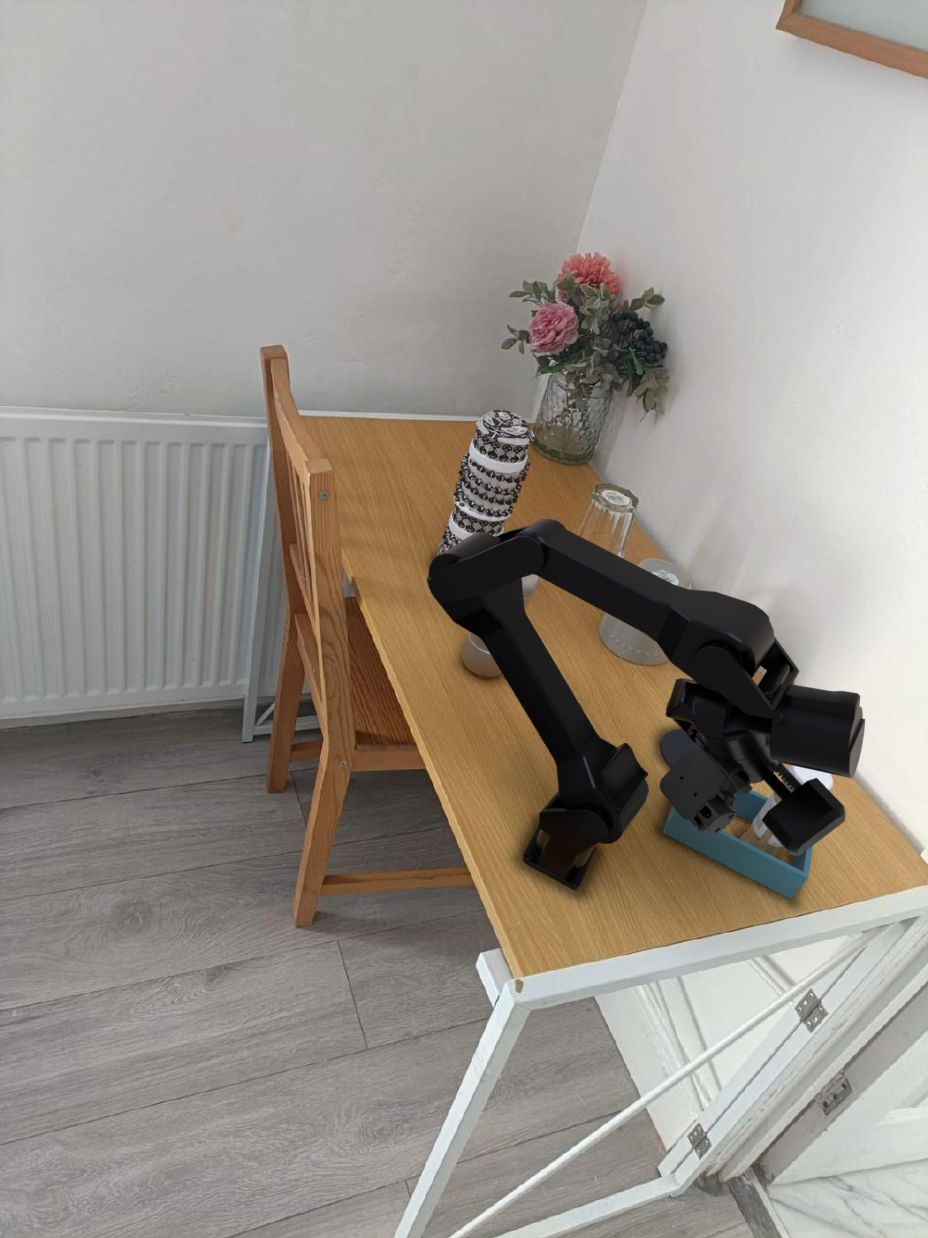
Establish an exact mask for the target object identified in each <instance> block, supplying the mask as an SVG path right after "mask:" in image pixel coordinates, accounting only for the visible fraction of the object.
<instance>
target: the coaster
mask: <svg viewBox="0 0 928 1238" xmlns="http://www.w3.org/2000/svg"><path fill="white" fill-rule="evenodd" d="M697 747H698V745H697V743H694V742H693V741H692V740H691V739H690V738H689V737H688V736H687V735H686V734H685V733H684V732H683V730H682V729H681V728H677V729H672V730H670V731H667V732H666V733H665V734H663V736H662V737H661V739H660V742H659V750H660V754H661V756H662V758H663V760H664V762H665V763H666V765H668V767H669V768H670V769H671V768H672V767H673V766H674V765H675V764H676V763H677V762H678V761H679V760H680V759H681V758H682V757H683V756H684V755H686V754H690V753H691V752H692V751H694V750H695V749H696V748H697Z"/></svg>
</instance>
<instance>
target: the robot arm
mask: <svg viewBox="0 0 928 1238" xmlns="http://www.w3.org/2000/svg"><path fill="white" fill-rule="evenodd" d="M532 574H534V575H537V576H539V578H540V579H542V580H544V581H546V582H548V583H549V584H552V585H554V586H556V587H558V588H559V589H561V590H563V591H565V592H566V593H569V594H570V595H572V596H574V597H576V598H578V599H580V600H581V601H583V602H585V603H587V604H589V605H590V606H592V607H595V608H596V609H598V610H600V611H601V612H604V613H605V614H608V615H609V616H611V617H613V618H615V619H617V620H619V621H621V623H624V624H626V625H628V626H630V627H632V628H633V629H635V630H637V631H639V632H641V633H643V634H644V635H646V636H647V637H648V638H650V639H651V640H653V641H654V642H655V643H656V644H657V645H658V647H659V648H660V649H661V651H662V652H663V654H664V655H665V656H666V658H667V659H668V661H669V662H670V663H671V664H672V665H673V666H675V668H677V669H678V670H680V671H681V672H682V673H684V674H685V675H686V676H688V677H689V678H690V679H689V678H684V677H680V678H676V679H675V681H674V685H673V687H672V691H671V695H670V696H669V699H668V701H667V703H666V707H665V716H666V718H669V719H672V721H674V722H675V724H676V725H677V726H678V727H679V729H682V730H683V732H684V733H685V734H686V735H687V736H688V737H689V738H690V739H691V740H692V741H693V742H694V743H697V745H698V747H697V748H696V749H695V750H694V751H692V752H691V753H690V754H686V755H684V756H683V757H682V758H681V759H680V760H679V761H678V762H677V763H676V764H675V765H674V766H673V767H672V768H671V767H670V769H669V770H668V771H667V772H666V773H665V775H663V777H661V779H660V781H659V789H660V792H661V793H662V795H663V796H664V797H665V798H666V800H667V801H668V802H669V803H670V804H671V807H672V806H673V807H674V808H675V810H676V811H677V812H678V813H679V815H680V816H681V817H682V818H684V819H686V820H690V822H691V823H692V824H693V825H694V827H697V829H698V830H699V831H700V832H704V831H705V830H708V832H709V833H719V832H721V831H724V830H725V828H727V827H728V826H729V824H731V822H732V821H734V819H736V817H737V816H738V815H737V811H736V810H735V809H734V807H733V803H734V802H735V801H736V798H735V797H734V795H735V794H736V793H738V794H739V795H740V796H741V797H743V796H744V795H746V794H747V793H748V792H749V791H751V790H753V787H752V785H751V784H753V785H754V784H758V783H762V782H764V783H765V784H766V785H767V786H768V787H769V788H770V789H771V790H772V791H774V792H775V793H776V794H777V796H778V797H779V798H780V799H781V801H780V802H779V803H778V804H776V805H775V806H774V807H772V808H771V809H770V810H768V812H767V813H766V814H765V816H764V817H763V819H762V821H763V823H764V824H765V826H766V827H767V828H768V829H769V831H770V832H771V833H772V834H773V835H774V837H775V838H776V839H777V840H778V841H779V842H780V844H781V845H782V846H783V847H784V850H785V851H786V852H787V853H788V854H789V855H790V856H793V855H797V856H800V855H801V854H803V853H804V852H805V851H806V850H808V849H809V848H810V847H812V846H814V845H816V844H817V843H819V842H820V841H821V840H823V838H825V837H826V836H828V835H829V834H831V832H833V831H835V829H837V828H838V827H840V826H841V825H842V824H844V823H845V822H846V817H847V811H846V808H845V805H844V804H843V803H842V802H841V801H840V800H839V799H838V798H837V797H836V796H835V795H834V794H833V793H832V791H831V790H830V791H829V790H828V789H827V788H826V787H825V786H824V785H823V784H822V783H821V782H820V781H819V779H818V778H814V779H811V780H808V781H806V782H805V783H804V784H801V783H800V782H799V781H798V780H797V779H796V778H795V777H794V775H793V774H792V773H791V772H790V771H789V770H788V768H787V767H786V765H787V766H790V765H793V766H797V767H802V768H806V769H811V770H815V771H820V772H825V773H829V774H831V775H833V776H839V777H843V778H847V779H853V778H854V776H855V774H856V772H857V770H858V765H859V762H860V757H861V753H862V749H863V743H864V736H865V729H866V718H864V715H863V714H864V711H863V707H862V706H861V695H860V694H859V693H858V692H853V691H846V690H828V689H822V688H815V687H811V686H806V685H805V686H804V685H798V684H795V681H796V679H797V678H798V675H799V674H800V669H799V668H798V666H797V664H795V662H794V661H793V660H792V658H791V657H790V656H789V654H788V653H787V651H786V650H785V649H784V647H783V646H782V644H781V643H780V642H779V640H778V639H777V637H776V636H775V631H774V630H775V629H774V628H773V625H772V624H771V620H770V616H769V615H768V614H767V613H766V612H765V611H764V609H762V608H760V607H759V606H758V605H756V604H754V603H751V602H749V601H746V600H743V599H740V598H736V597H733V596H730V595H727V594H724V593H721V592H718V591H713V590H704V589H703V590H700V589H689V588H686V587H683V586H679V585H676V584H674V583H673V582H670V581H669V580H667V579H665V578H662V577H660V576H659V575H656V574H655V573H653V572H651V571H648V570H647V569H644V567H641V566H639V565H637V564H635V563H633V562H631V561H629V560H628V559H625V558H623V557H621V556H619V555H617V554H615V553H613V552H611V551H610V550H607V549H605V548H604V547H601V546H600V545H598V544H596V543H594V542H592V541H590V540H588V539H586V538H584V537H582V536H580V535H578V534H576V533H574V532H572V531H570V530H568V529H567V527H565V525H564V524H563V523H562V522H560V521H559V520H557V519H553V518H540V519H539V520H536V521H535V522H533V523H532V524H529V525H525V526H520V527H515V528H512V529H510V530H508V531H505V532H504V531H503V533H502V534H499V535H497V536H493V535H490V534H488V533H476V534H473V535H471V536H469V537H467V538H466V539H464V540H463V541H461V542H459V543H458V544H456V545H454V546H453V547H451V548H450V549H448V550H446V551H445V552H443V553H441V554H440V555H438V556H437V557H435V558H434V559H432V560H431V562H430V564H429V567H428V574H427V575H428V576H427V577H426V582H427V583H426V584H427V586H428V589H429V591H430V593H431V595H432V596H433V598H434V599H435V600H436V602H437V604H438V605H440V607H441V608H442V609H443V611H444V612H445V613H446V614H447V616H448V617H449V618H450V619H451V621H452V622H453V623H455V624H456V625H458V626H459V627H461V628H463V629H465V630H466V631H467V632H471V633H473V634H475V635H476V636H478V637H479V638H480V639H481V640H482V641H483V643H484V644H485V646H486V647H487V649H488V651H489V652H490V654H491V656H492V657H493V659H494V661H495V662H496V664H497V666H498V667H499V669H500V671H501V672H502V674H501V675H502V676H503V678H504V679H505V681H506V682H507V684H508V685H509V688H510V689H511V690H512V692H513V694H514V696H515V698H516V699H517V701H518V703H519V704H520V706H521V707H522V709H523V710H524V713H525V714H526V716H527V717H528V720H530V722H531V724H532V725H533V727H534V729H535V731H536V732H537V734H538V736H539V737H540V739H541V740H542V742H543V744H544V746H545V747H546V749H547V751H548V752H549V754H550V756H551V757H552V759H553V761H554V763H555V766H556V767H555V768H556V777H557V788H558V791H557V792H555V794H554V795H553V796H552V798H551V799H549V801H548V802H547V804H546V805H544V807H543V808H542V809H541V811H540V812H539V813H538V826H537V827H536V829H535V830H534V833H533V835H532V837H531V839H530V841H529V843H528V845H527V847H526V848H525V851H524V853H523V855H521V861H522V862H523V863H525V864H526V865H529V866H531V867H532V868H534V869H536V870H538V871H539V872H541V873H543V874H545V875H547V876H549V877H551V878H553V879H554V880H556V881H558V882H560V883H562V884H564V885H566V886H567V887H569V888H571V889H573V890H578V889H579V888H580V886H581V885H582V882H583V880H584V877H585V876H586V873H587V870H588V868H589V866H590V863H591V861H592V859H593V856H594V853H595V852H596V849H597V846H596V845H597V844H601V845H612V844H614V843H616V842H618V841H619V840H620V839H621V837H622V836H623V835H624V834H625V832H626V831H627V829H628V828H629V826H630V825H631V824H632V822H633V821H634V820H635V818H636V817H637V815H638V813H639V812H640V811H641V809H642V808H643V807H644V805H645V804H646V802H647V799H648V796H649V793H650V788H649V784H648V781H647V777H648V776H649V772H648V771H647V770H646V769H645V768H643V767H642V765H641V764H640V762H639V761H638V760H637V756H636V755H635V753H634V749H633V748H632V747H631V745H630V744H629V743H628V742H623V743H622V744H619V745H618V746H616V745H614V744H613V743H611V742H609V741H607V740H606V739H604V738H602V737H601V735H599V734H598V732H597V731H596V729H595V728H594V726H593V724H592V722H591V721H590V719H589V717H588V716H587V713H586V712H585V710H584V708H583V707H582V706H581V704H580V702H579V700H578V699H577V697H576V696H575V694H574V692H573V690H572V689H571V687H570V686H569V683H568V682H567V680H566V679H565V677H564V675H563V674H562V672H561V670H560V669H559V667H558V665H557V663H556V662H555V660H554V659H553V657H552V655H551V653H550V651H549V649H548V648H547V647H546V645H545V643H544V642H543V640H542V638H541V637H540V635H539V633H538V632H537V630H536V628H535V627H534V625H533V623H532V621H531V620H530V618H529V617H528V615H527V613H526V609H524V598H523V586H522V578H523V577H526V576H529V575H532ZM760 667H761V668H763V669H764V670H766V671H765V673H764V675H763V676H762V678H761V679H760V681H759V682H758V683H756V681H755V680H754V679H753V678H754V676H755V675H756V673H757V672H758V670H759V669H760ZM776 774H777V775H776ZM779 777H780V778H779ZM783 779H785V780H784V783H787V782H788V783H787V786H790V785H791V786H790V789H794V790H793V792H792V793H791V791H790V790H789V789H788V788H787V787H786V786H785V785H784V784H783V783H782V782H781V781H782V780H783ZM812 848H813V847H812Z"/></svg>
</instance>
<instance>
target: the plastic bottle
mask: <svg viewBox="0 0 928 1238" xmlns="http://www.w3.org/2000/svg"><path fill="white" fill-rule="evenodd" d="M539 579H540V577H539V576H537V575H534V574H532V575H529V576H526V577H523V578H522V586H523V598H524V609H525V610H526V609H527V608H528V606H529V604H530V602H531V600H532V599H533V596H534V594H535V592H536V591H537V588H538V587H539V584H540V582H539V581H540V580H539ZM460 654H461V655H460V656H461V659H462V661H463V663H464V666H465V667H466V668H467V669H468V670H469V671H471V672H472V673H474V674H476V675H477V676H481V677H487V678H494V677H497V676H500V675H503V674H502V672H501V671H500V669H499V667H498V666H497V664H496V662H495V661H494V659H493V657H492V656H491V654H490V652H489V651H488V649H487V647H486V646H485V644H484V643H483V641H482V640H481V639H480V638H479V637H478V636H476V635H475V634H473V633H471V632H469V631H467V633H466V634H465V637H464V639H463V642H462V644H461V652H460Z"/></svg>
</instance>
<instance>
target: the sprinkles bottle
mask: <svg viewBox="0 0 928 1238" xmlns="http://www.w3.org/2000/svg"><path fill="white" fill-rule="evenodd" d="M787 769H788V770H789V771H790V772H791V773H792V774H793V775H794V777H795V778H796V779H797V780H798V781H799V782H800V783H801V784H804V783H805V782H806V781H808V780H811V779H814V778H818V779H819V781H820V782H821V783H822V784H823V785H824V786H825V787H826V788H827V789H828V790H829V791H830V792H831V789H832V788H833V786H834V778H833V776H832V774H829V773H825V772H820V771H815V770H811V769H806V768H802V767H797V766H793V765H789V767H788V768H787ZM784 780H785V779H783V780H782V779H781V780H780V781H781V782H782V783H783V784H784V785H785V786H786V787H787V788H788V789H789V790H790V791H791V793H792V792H793V790H794V789H790V786H791V785H790V786H787V783H788V782H787V783H784ZM772 791H773V790H772ZM768 798H769V799H768V800H767V802H766V803H765V804H764V806H763V807H762V809H761V810H760V812H759V813H758V815H757V816H756V817H755V819H754V820H753V823H752V822H751V825H750V826H749V827H748V829H747V830H746V831H745V832H744V833H743V834H742V835H741V836H740V840H742V841H744V842H746V843H748V844H750V845H752V846H754V847H756V848H758V849H760V850H762V851H763V852H765V853H767V854H769V855H771V856H773V857H775V858H777V859H779V856H780V854H781V853H782V851H783V850H785V848H784V847H783V846H782V845H781V844H780V842H779V841H778V840H777V839H776V838H775V837H774V835H773V834H772V833H771V832H770V831H769V829H768V828H767V827H766V826H765V824H764V823H763V821H762V819H763V817H764V816H765V814H766V813H767V812H768V810H770V809H771V808H772V807H774V806H775V805H776V804H778V803H779V802H780V801H781V799H780V798H779V797H778V796H777V794H776V793H775V792H774V791H773V792H771V794H770V796H769V797H768Z"/></svg>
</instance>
